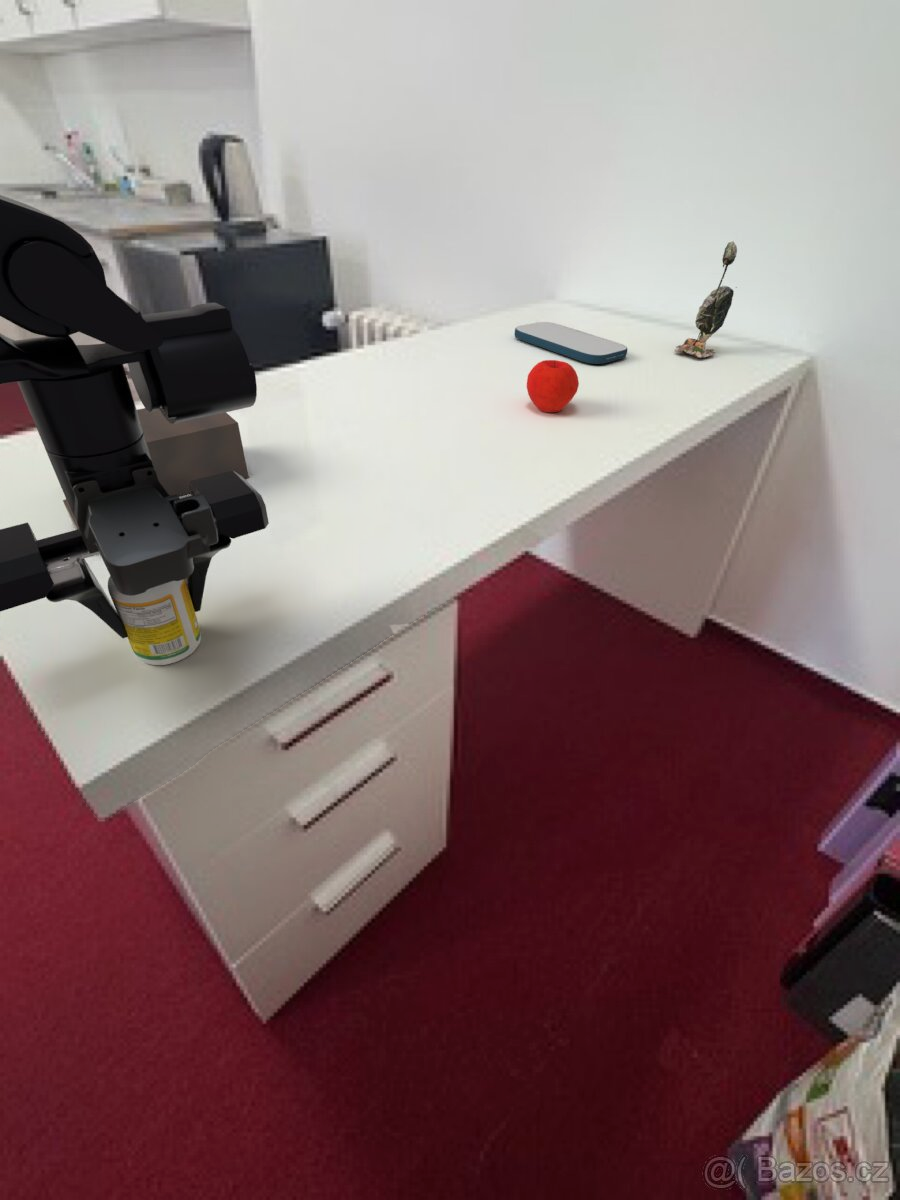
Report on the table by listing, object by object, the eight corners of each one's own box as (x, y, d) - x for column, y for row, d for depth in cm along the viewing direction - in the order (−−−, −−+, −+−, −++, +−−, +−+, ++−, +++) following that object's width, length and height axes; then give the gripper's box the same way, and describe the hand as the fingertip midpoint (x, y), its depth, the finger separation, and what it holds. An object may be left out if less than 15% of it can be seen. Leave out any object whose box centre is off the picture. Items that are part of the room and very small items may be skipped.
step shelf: (88, 555, 59) (61, 492, 55) (54, 487, 69) (30, 429, 65) (272, 501, 68) (263, 444, 64) (219, 448, 79) (207, 396, 74)
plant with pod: (730, 353, 121) (766, 240, 109) (696, 362, 116) (730, 244, 103) (696, 343, 126) (727, 234, 114) (662, 351, 121) (691, 237, 108)
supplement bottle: (173, 674, 47) (137, 577, 41) (119, 656, 48) (76, 559, 42) (216, 632, 51) (189, 537, 45) (165, 617, 52) (132, 523, 46)
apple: (568, 399, 97) (575, 353, 93) (579, 418, 91) (588, 369, 87) (520, 399, 97) (525, 352, 92) (528, 418, 91) (534, 368, 86)
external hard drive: (507, 337, 125) (508, 327, 123) (545, 330, 130) (547, 320, 129) (594, 368, 111) (596, 357, 109) (632, 358, 116) (634, 347, 115)
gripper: (-76, 539, 29) (50, 742, 38) (284, 449, 38) (312, 632, 48) (-88, 455, 35) (21, 645, 45) (220, 396, 45) (255, 565, 54)
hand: (160, 621), depth 48 cm, fingers closed on supplement bottle, 5 cm apart
